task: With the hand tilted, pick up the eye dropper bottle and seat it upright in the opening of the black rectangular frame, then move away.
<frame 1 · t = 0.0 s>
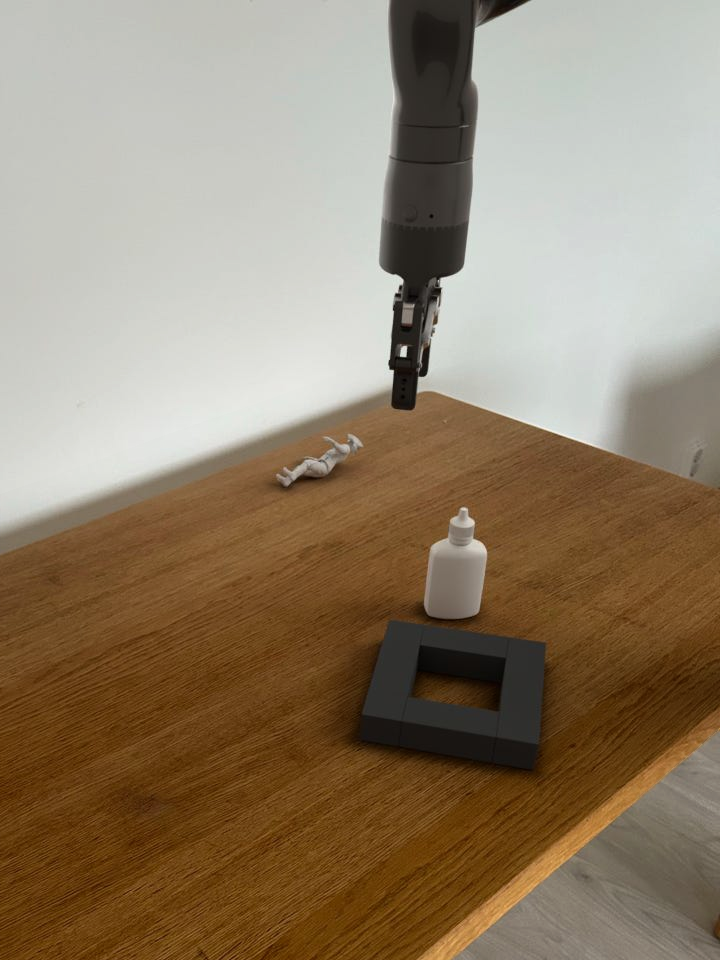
hand: (409, 391, 97), 22 cm above the table, tool pointing down, fingers open, 8 cm apart
black rectangular frame: (454, 702, 94), on the table
eye dropper bottle: (450, 612, 106), on the table
soldier figure: (319, 477, 132), on the table
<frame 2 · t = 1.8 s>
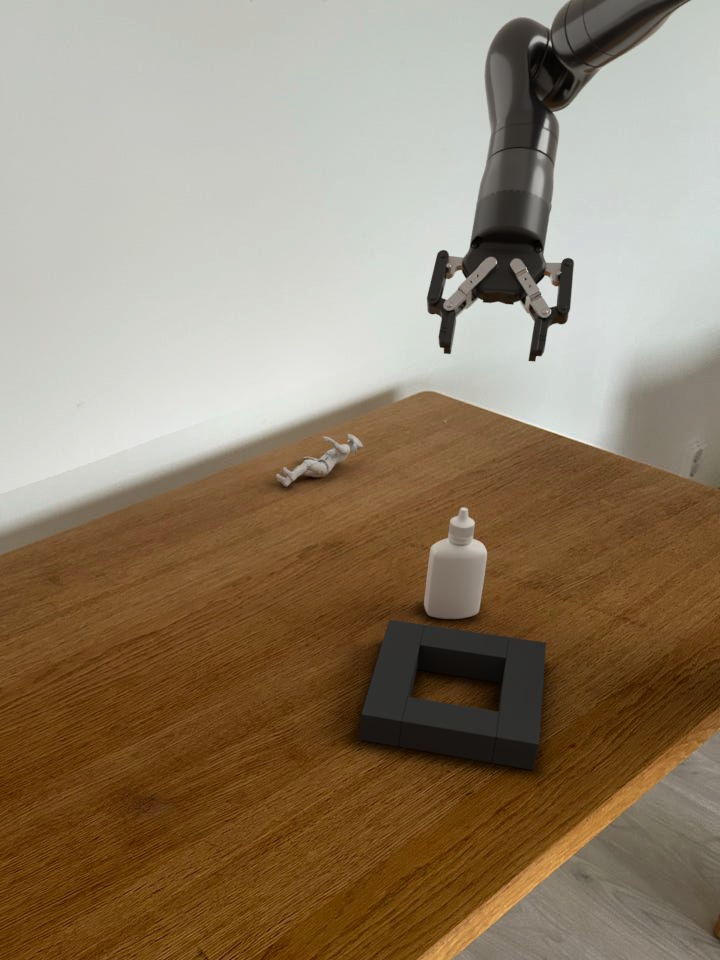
hand: (489, 354, 103), 23 cm above the table, tool tilted 45°, fingers open, 8 cm apart
nothing on the table moved.
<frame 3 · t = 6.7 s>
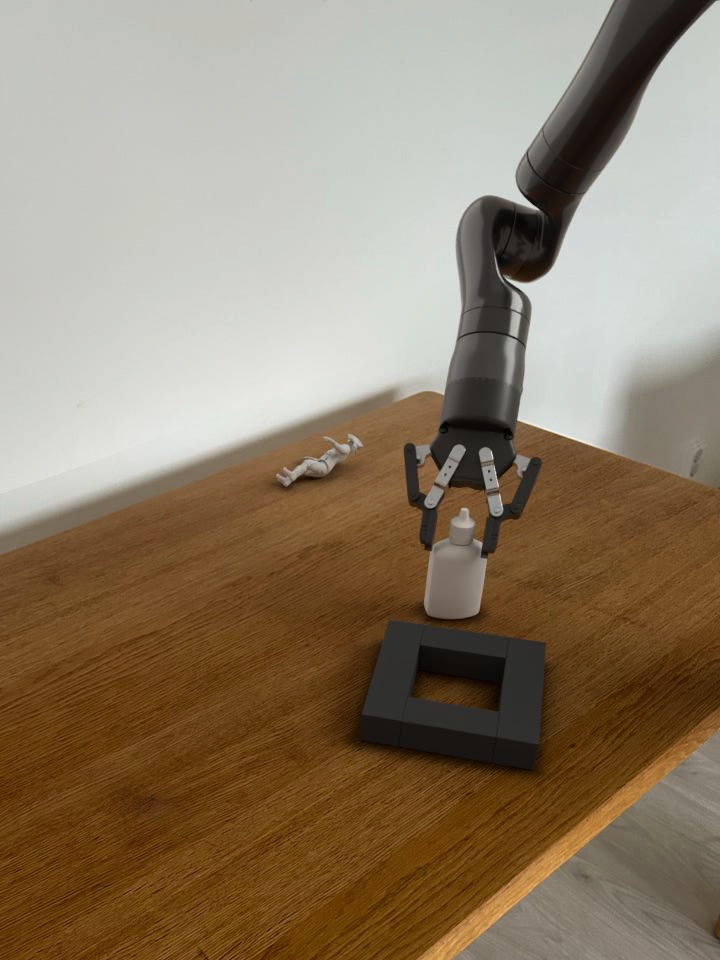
hand: (456, 552, 100), 8 cm above the table, tool tilted 45°, fingers closed on eye dropper bottle, 5 cm apart
eye dropper bottle: (450, 612, 106), on the table, touching gripper
everything else where it was.
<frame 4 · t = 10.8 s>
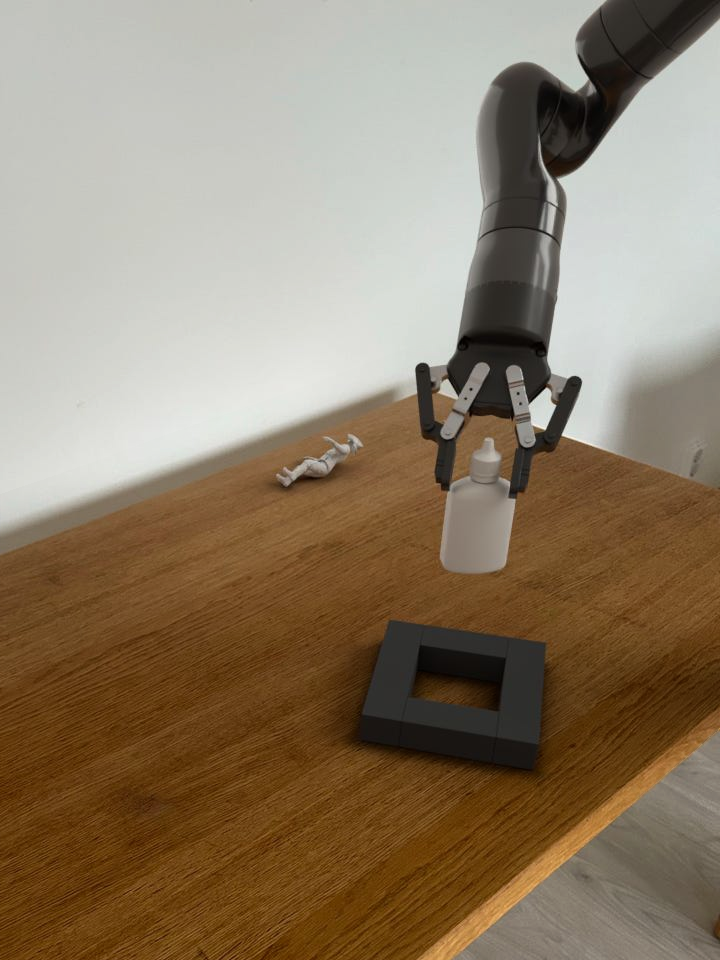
hand: (479, 491, 83), 21 cm above the table, tool tilted 45°, fingers closed on eye dropper bottle, 5 cm apart
eye dropper bottle: (471, 566, 90), point 12 cm above the table, touching gripper
everything else where it was.
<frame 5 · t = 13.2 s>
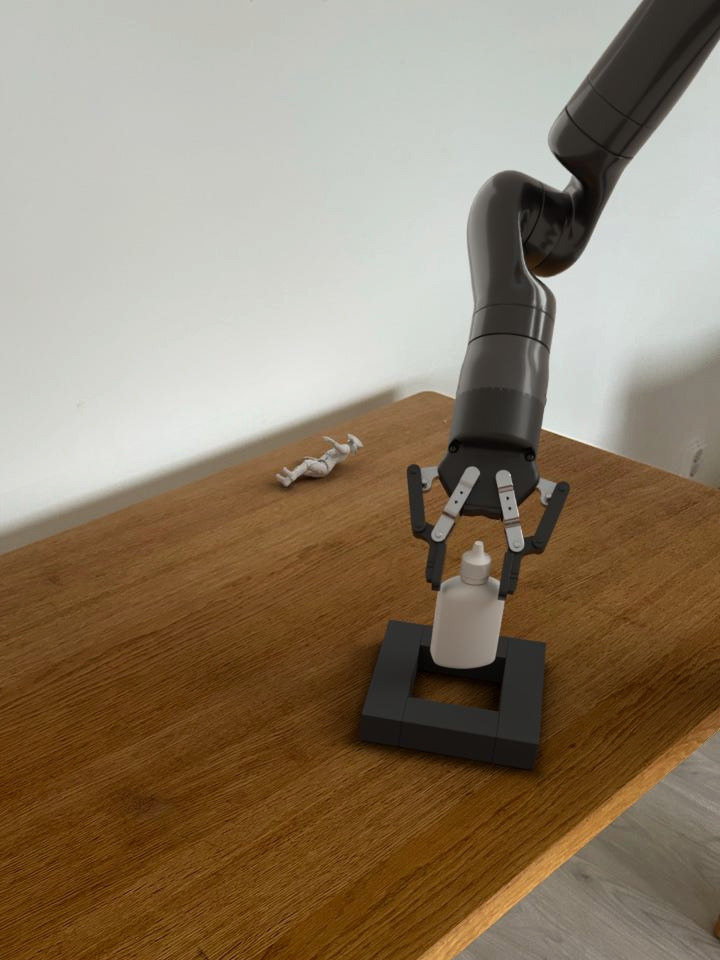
hand: (468, 593, 85), 13 cm above the table, tool tilted 45°, fingers closed on eye dropper bottle, 5 cm apart
eye dropper bottle: (461, 659, 91), point 5 cm above the table, touching gripper
everything else where it was.
when the fingers open (8 cm above the table, at t = 15.1 s): eye dropper bottle stays where it is, resting in black rectangular frame.
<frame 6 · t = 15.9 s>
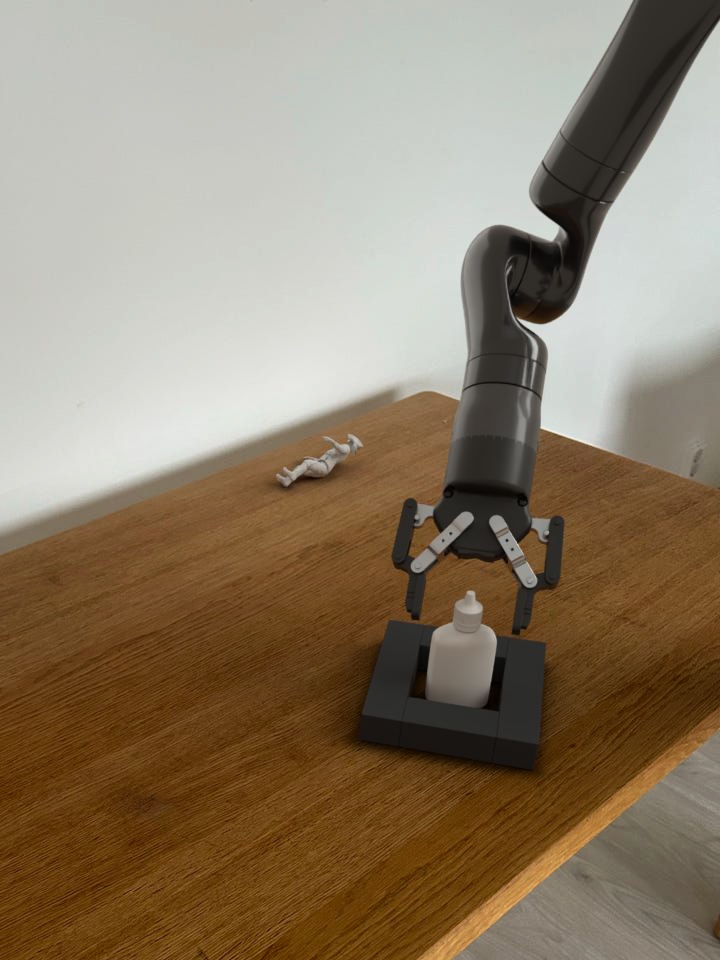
hand: (465, 626, 87), 9 cm above the table, tool tilted 45°, fingers open, 8 cm apart
eye dropper bottle: (455, 702, 94), resting in black rectangular frame
everything else where it was.
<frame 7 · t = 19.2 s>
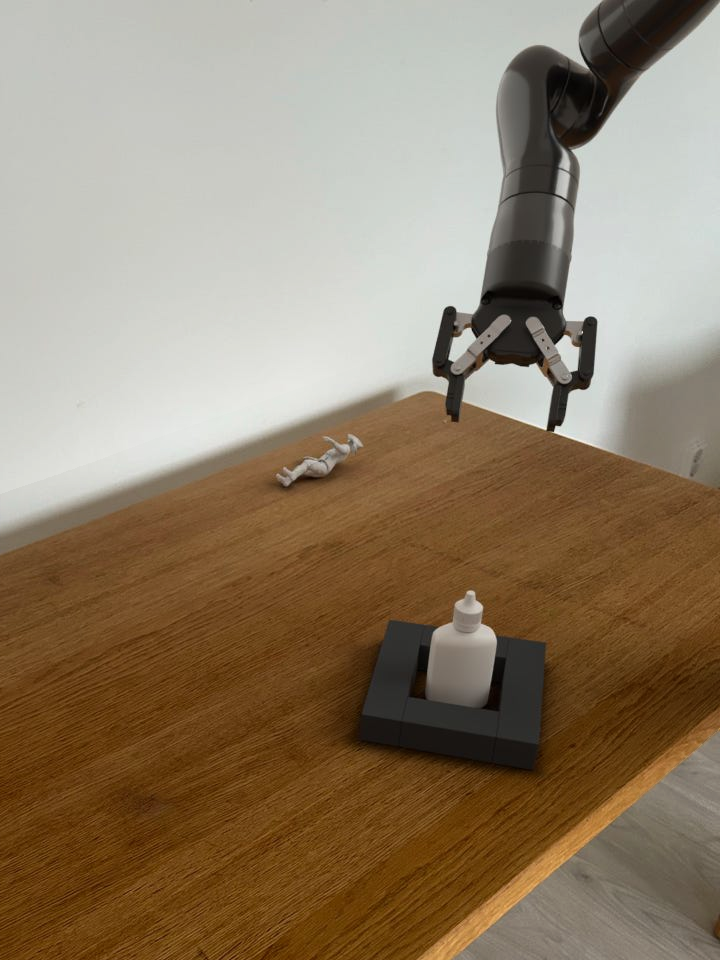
hand: (502, 424, 92), 22 cm above the table, tool tilted 45°, fingers open, 8 cm apart
nothing on the table moved.
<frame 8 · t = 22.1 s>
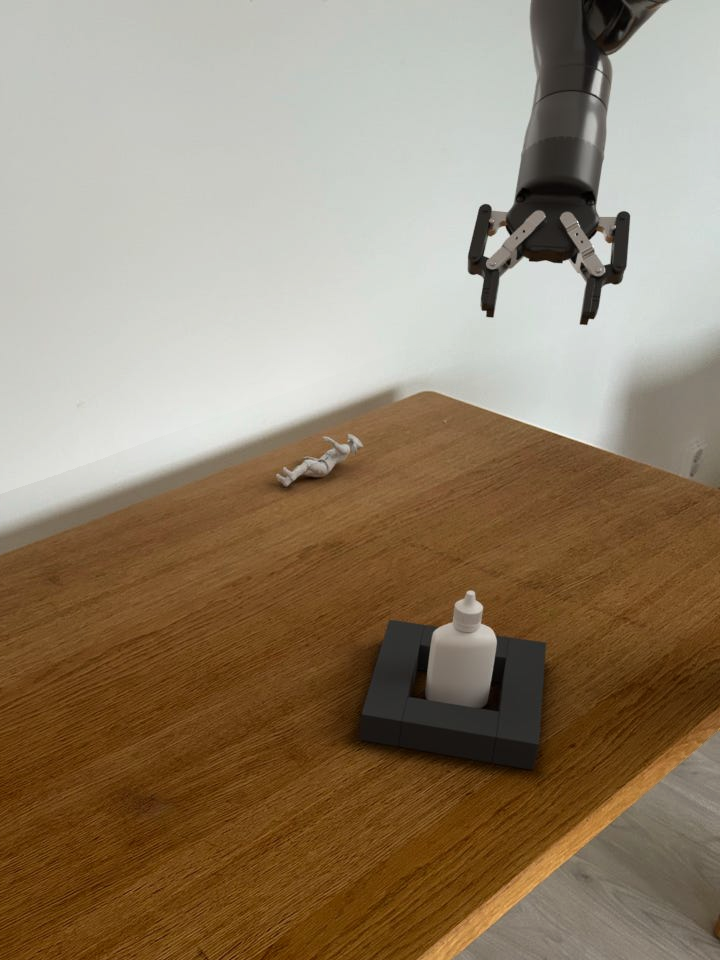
hand: (536, 317, 94), 29 cm above the table, tool tilted 45°, fingers open, 8 cm apart
nothing on the table moved.
at the end: eye dropper bottle 0.2 cm off-centre in the black rectangular frame, point 0.0 cm above the black rectangular frame's base; eye dropper bottle tilted 0°; the gripper is holding nothing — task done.
